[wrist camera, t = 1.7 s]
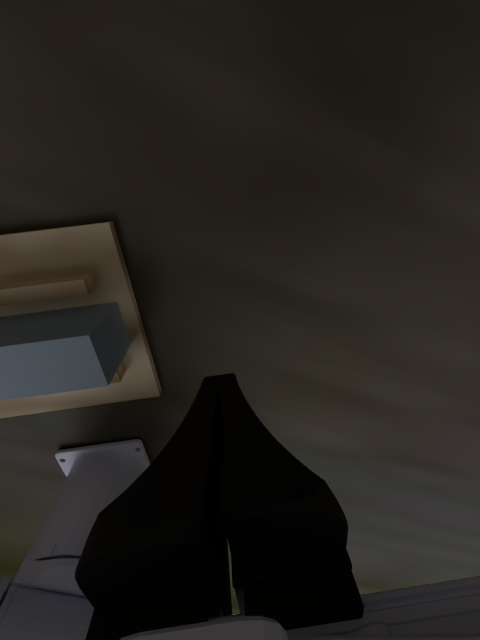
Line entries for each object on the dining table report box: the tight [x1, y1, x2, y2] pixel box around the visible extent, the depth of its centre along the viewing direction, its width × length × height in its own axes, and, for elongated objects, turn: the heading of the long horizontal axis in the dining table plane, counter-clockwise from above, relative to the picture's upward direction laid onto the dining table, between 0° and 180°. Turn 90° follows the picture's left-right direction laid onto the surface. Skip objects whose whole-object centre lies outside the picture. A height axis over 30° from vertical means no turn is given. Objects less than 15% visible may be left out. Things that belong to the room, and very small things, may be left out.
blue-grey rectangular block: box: [0, 302, 131, 401], centre depth 18 cm, size 4×10×5 cm, turn 96°
